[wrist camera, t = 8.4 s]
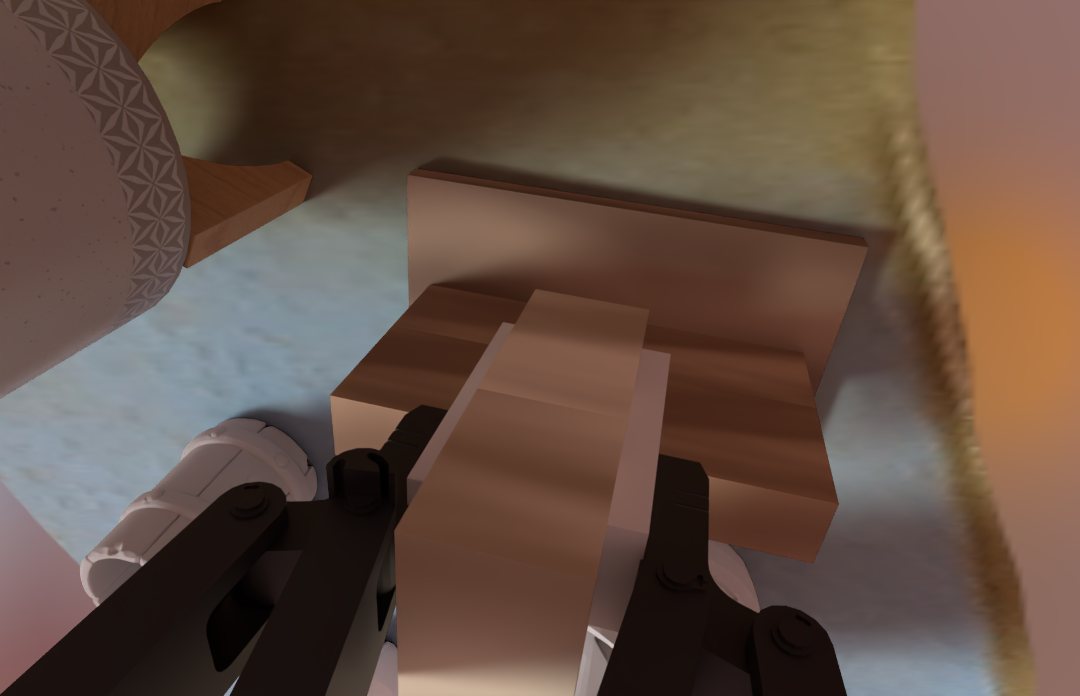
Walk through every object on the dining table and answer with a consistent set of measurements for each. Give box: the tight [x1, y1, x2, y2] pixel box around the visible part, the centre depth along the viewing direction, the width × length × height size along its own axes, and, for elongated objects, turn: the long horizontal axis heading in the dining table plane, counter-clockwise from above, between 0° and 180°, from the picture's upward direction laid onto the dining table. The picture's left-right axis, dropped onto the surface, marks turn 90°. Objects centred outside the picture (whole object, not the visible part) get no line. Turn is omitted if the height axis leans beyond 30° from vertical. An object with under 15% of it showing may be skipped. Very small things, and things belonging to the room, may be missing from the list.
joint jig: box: [330, 169, 869, 563], centre depth 25 cm, size 12×18×10 cm, turn 85°
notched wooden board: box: [394, 289, 649, 696], centre depth 17 cm, size 14×3×9 cm, turn 175°
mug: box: [80, 418, 317, 607], centre depth 35 cm, size 8×12×12 cm, turn 16°
